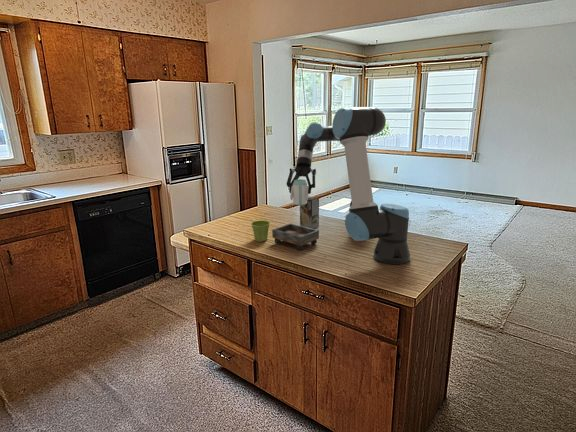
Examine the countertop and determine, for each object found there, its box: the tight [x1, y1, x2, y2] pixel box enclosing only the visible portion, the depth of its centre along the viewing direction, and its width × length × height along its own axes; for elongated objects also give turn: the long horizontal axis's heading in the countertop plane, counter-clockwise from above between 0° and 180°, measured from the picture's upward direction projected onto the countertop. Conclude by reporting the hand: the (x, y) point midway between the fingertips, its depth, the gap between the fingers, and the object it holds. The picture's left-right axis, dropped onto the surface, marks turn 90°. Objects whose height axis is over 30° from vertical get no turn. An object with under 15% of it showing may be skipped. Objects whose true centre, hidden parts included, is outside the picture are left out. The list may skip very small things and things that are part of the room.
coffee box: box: [299, 195, 320, 229], centre depth 204 cm, size 9×6×16 cm
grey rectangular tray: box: [271, 222, 320, 252], centre depth 179 cm, size 18×13×7 cm
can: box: [292, 178, 308, 206], centre depth 186 cm, size 7×7×12 cm
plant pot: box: [250, 219, 271, 243], centre depth 185 cm, size 9×9×9 cm
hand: (298, 198), depth 183 cm, fingers closed on can, 7 cm apart
